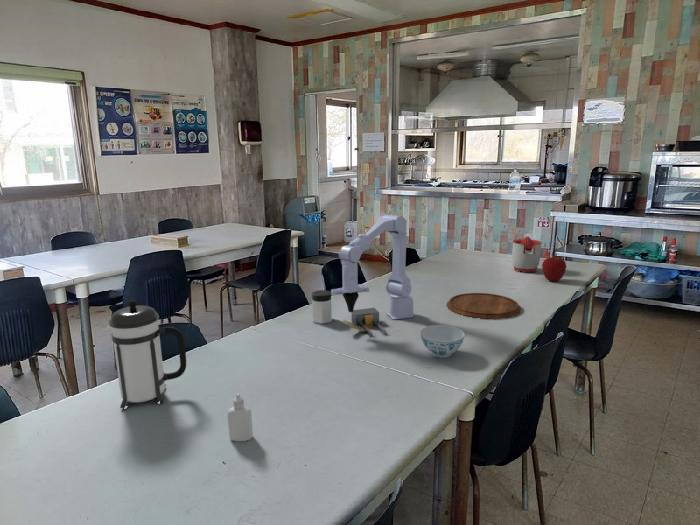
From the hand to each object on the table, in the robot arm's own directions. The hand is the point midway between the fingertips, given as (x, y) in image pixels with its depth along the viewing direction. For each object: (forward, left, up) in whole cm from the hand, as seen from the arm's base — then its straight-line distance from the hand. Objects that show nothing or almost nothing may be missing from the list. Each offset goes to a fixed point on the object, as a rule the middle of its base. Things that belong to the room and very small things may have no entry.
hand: (350, 311), depth 187 cm
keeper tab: (-1, 0, -7) cm, 7 cm away
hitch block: (-9, -3, -9) cm, 13 cm away
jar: (+7, -18, -9) cm, 21 cm away
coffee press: (+71, +28, -9) cm, 77 cm away
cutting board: (-65, -10, -10) cm, 66 cm away
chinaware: (-24, +29, -9) cm, 39 cm away
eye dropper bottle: (+47, +58, -9) cm, 75 cm away
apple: (-123, -35, -9) cm, 128 cm away
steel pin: (-9, -11, -9) cm, 17 cm away
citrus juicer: (-123, -58, -9) cm, 136 cm away
